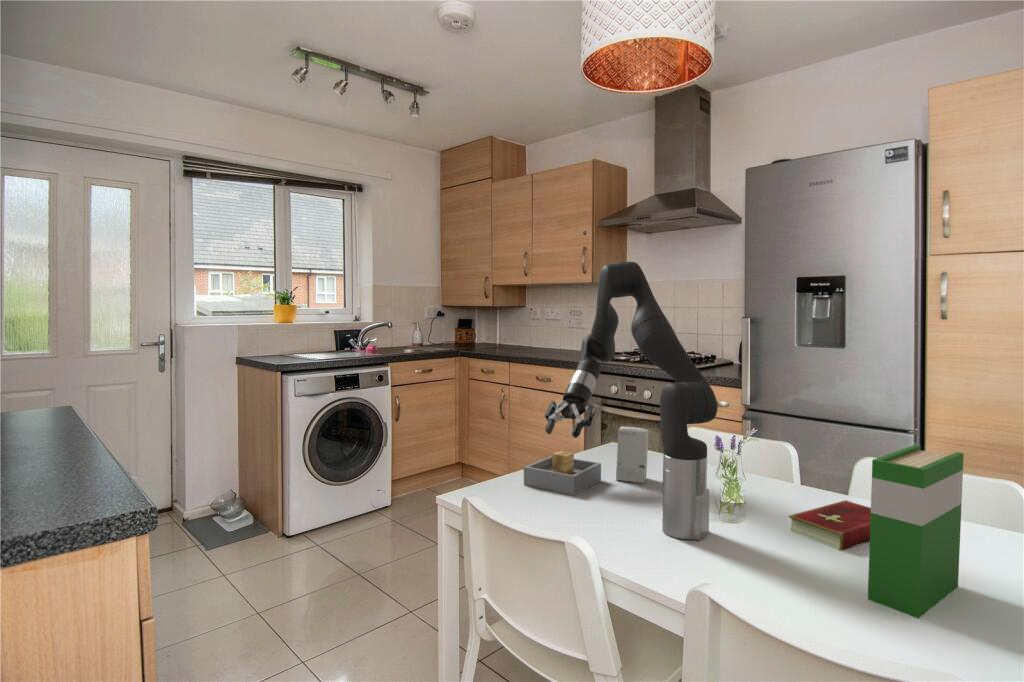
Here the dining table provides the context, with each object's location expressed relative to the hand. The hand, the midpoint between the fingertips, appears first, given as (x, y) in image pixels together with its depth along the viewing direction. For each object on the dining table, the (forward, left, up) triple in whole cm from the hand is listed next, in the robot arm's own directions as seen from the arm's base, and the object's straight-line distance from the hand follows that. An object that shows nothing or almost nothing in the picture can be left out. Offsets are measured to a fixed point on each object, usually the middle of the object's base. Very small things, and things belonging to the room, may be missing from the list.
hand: (560, 434), depth 160 cm
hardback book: (-81, +19, -14) cm, 85 cm away
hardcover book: (-69, -6, -15) cm, 71 cm away
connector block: (0, -1, -14) cm, 14 cm away
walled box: (0, -1, -14) cm, 14 cm away
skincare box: (-15, -15, -14) cm, 26 cm away
